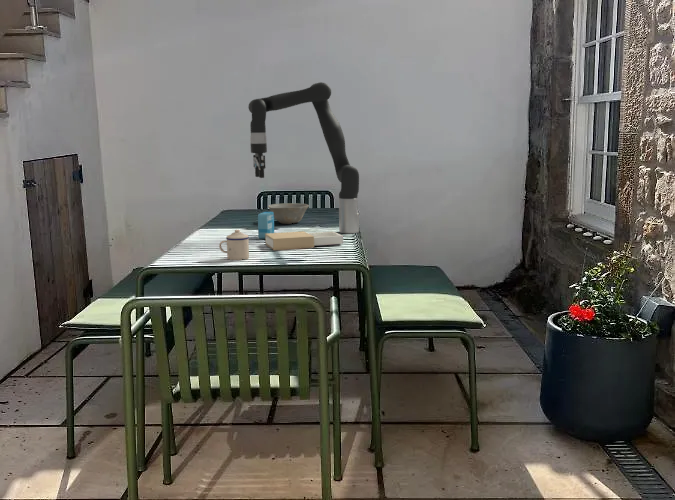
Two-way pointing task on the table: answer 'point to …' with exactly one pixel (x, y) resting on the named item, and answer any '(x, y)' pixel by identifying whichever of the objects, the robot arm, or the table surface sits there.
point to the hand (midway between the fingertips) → (259, 177)
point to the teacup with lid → (236, 246)
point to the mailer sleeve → (291, 240)
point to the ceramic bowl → (288, 212)
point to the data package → (265, 224)
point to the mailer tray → (319, 238)
